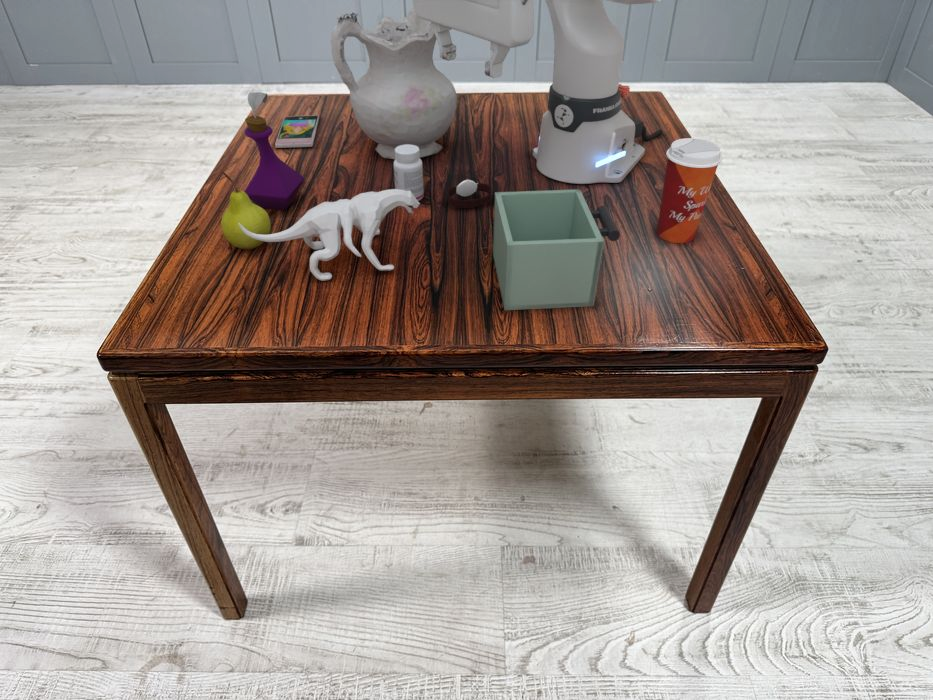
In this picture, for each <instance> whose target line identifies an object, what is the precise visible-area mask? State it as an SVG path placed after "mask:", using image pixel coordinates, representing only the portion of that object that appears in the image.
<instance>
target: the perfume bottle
mask: <svg viewBox="0 0 933 700" xmlns="http://www.w3.org/2000/svg"><path fill="white" fill-rule="evenodd" d="M267 101H268V93H266V92H262V91H255V92H249V93H248V94H247V103H248V106H249V107H250V108H251V110H252V111H253V115H249V116H248V117H246V118H245V119H244V120H245V123H246V125H247V126H248V127H246V128H245V130H244V135H245V136H246V137H247V138H249V139H251V140H252V141H254V142H255V144H256V146H257V149H258V152H259V162H258V163H259V164H258V166H257V168H256V171H255V172H254V175H253V176H252V178H251V180H250V182H249V183H248V184H247V186H246V188H245V189H244V190H243V191H244V192H245V193H246V194H247V195H248V197H249V199H250V200H251V202H252V203H254V204H255V205H257V206H259V207H261V208H263V209H268V210H278V211H286V210H287V209H288V208H289V207H290V205H291V204H292V203H293V202H294V201H295V199H296V198H297V195H298V193H299V191H300V189H301V187H302V185H303V183H304V181H305V177H304V176H303V175H302V174H301V173H299V172H298V171H297V170H295V169H294V168H293V167H290V166H289V165H288V164H287V163H285V162H284V161H283V160H282V159H280V158H279V156H278V155H277V154H276V152H275V151H274V149H273V147H272V146H271V143H270V140H269V138H270V136H271V135H272V134H273V132H274V131H273V129H272V128H271V126H270V125H268V124H267V120H266V119H265V118H264V117H262V116H259V115H257V114H256V111H257V110H258V108H259V107H260V106H261V105H262V103H264V104H266V103H267Z"/></svg>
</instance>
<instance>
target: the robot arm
mask: <svg viewBox="0 0 933 700" xmlns="http://www.w3.org/2000/svg"><path fill="white" fill-rule="evenodd" d="M544 1H545V4H546V6H547V9H548V12H549V16H550V20H551V25H552V31H553V41H554V45H553V46H554V47H553V49H554V50H553V70H552V71H553V72H552V74H553V75H552V83H551V84H550V86H549V90H548V94H547V109H548V110H547V111H545V112H544V113H543V115H542V118H541V125H540V132H539V137H538V143H537V147H534V148H533V149H532V154H531V155H532V157H533V158H534V159H535V160H536V162H535V164H536V168H537V170H538V171H539V173H541V174H542V175H544V176H545V177H547V178H549V179H552V180H554V181H558V182H563V183H568V184H577V185H589V184H596V183H610V184H618V183H621V182H623V180H624V179H626V177H627V176H628V175H629V173H630V172H631V171H632V170H633V169H634V168H635V166H636V165H637V164H638V163H639V162H640V161H641V159H642V158H643V157H644V155H645V154H646V148H644V147H643V146H642V145H641V144H639V143H637V142H635V140H636V139H639V138H642V139H643V140H644V141H647V142H648V141H651V140H654V139H655V138H657V137H658V136H660V135H662V134H663V132H664V130H662V129H661V128H660V129H657V130H656V131H655V132H653V133H652V134H649V135H647V128H646V126H645V125H644V123H645V122H644V121H643V120H640V119H637V118H634V117H632V116H629V115H627V114H626V113H625V112H624V110H623V109H622V98H623V99H627V98H628V96H629V94H630V91H631V90H630V89H631V88H630V86H629V85H623V84H621V83H620V79H621V72H622V64H623V57H624V53H625V52H624V51H625V44H624V43H625V42H624V38H623V35H622V33H621V32H620V30H619V29H618V28H617V27H616V26H615V25H614V24H613V23H612V21H611V20H610V18H609V17H608V15H607V12H606V8H605V6H604V0H544ZM606 1H607V2H612V3H618V4H623V5H646V4H656V3H657V4H658V3H659V2H660V1H662V0H606ZM412 6H413V8H414V9H415V12H416V14H417V16H418V17H419V18H421V19H424V20H427V21H430V22H433V31H434V33H435V36H436V38H437V39H436V42H437V43H438V46H439V58H440V59H442V60H445V61H447V62H449V61H454V60H455V59H456V58H457V53H456V52H457V45H456V44H454V43H453V40H452V36H451V32H450V31H452V30H455V31H458V32H461V33H464V34H467V35H470V36H473V37H476V38H479V39H481V40H484V41H488V42H489V43H490V51H492V54H491V56H490V60H487V61H484V68H485V69H484V75H485V76H487V77H489V78H492V79H497V78H500V77H501V76H502V74H503V63H504V61H505V59H506V57H507V55H508V54H509V52H510V50H511V49H513V48H517V47H521V46H525V45H527V44H529V43H530V42H531V40H532V38H533V36H534V29H535V28H534V27H535V26H534V25H535V24H534V23H535V18H534V17H535V15H534V0H412Z"/></svg>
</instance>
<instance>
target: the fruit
mask: <svg viewBox="0 0 933 700" xmlns="http://www.w3.org/2000/svg"><path fill="white" fill-rule="evenodd" d="M220 174H222V175H223V176H224V177H225V178H226V179H227V180H229V181H230V182H231V184H233V186H234V190H233V191H232V192H231V193H230V196H229V204H228V206H227V208H226V209H225V211H224V213H223V214H222V217H221V220H220V221H221V222H220V223H221V225H220V228H221V232H222V234H223V236H224V238H225V239H226V241H227V242H229V244H231V246H233V247H235V248H238V249H241V250H245V251H250V250H254V249H256V248H258V247H260V246H261V245H262V244H264V243H265V241H261V240H257V239H253V238H251V237H249V236H247V235H246V234H245V233H244V232H243V231H242V229H241V228H240V226H239V224H238V223H240V224H241V225H242V226H243V227H244V228H245V229H247V230H248V231H250V232H252V233H255V234H262V235H268V234H271V228H272V227H271V226H272V225H271V219H270V216H269V214H268V213H267V211H266V210H265V208H261V207H260V206H259V205H257V204H256V203H255V202H253V201H252V200H251V199H249V197H248V195H247V194H246V193H245V192H244V191H245V190H242V189H238V187H237V186H236V183H235V182H234V181H233V180H232V178H231V177H230V176H229V175H228V174H227V173H225V172H224V171H223V170H221V171H220Z"/></svg>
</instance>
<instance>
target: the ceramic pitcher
mask: <svg viewBox="0 0 933 700" xmlns="http://www.w3.org/2000/svg"><path fill="white" fill-rule="evenodd" d="M358 16H359V14H358V13H355V12H351V13H345V14H341V15H340V16H339V17H336V19H337V23H336V24H335V26H334V28H333V30H332V32H331V39H330V47H331V55H332V59H333V63H334V67H335V69H336V70H337V72H338V74H339V76H340V79H341V80H342V83H343V84H344V85H345V86H346V87H347V89H348V91H349V101H350V107H351V109H352V110H353V115H354V118H355V121H356V122H357V125H358V126H359V128H360V129H361V130H362V132H363V133H364V134H365V135H366V136H367V137H368V138H369V139H370V140H371V141H374V142H375V143H377V146H376V147H375V148H374V150H375V151H376V152H377V153H378V154H379V156H380V157H382V158H384V159H391V160H395V159H396V158H395V148H396V147H398V146H400V145H405V144H410V145H415V146H417V147H418V148H419V151H420V159H421V158H424V157H428V156H432V155H435V154H438V153H439V152H440V151H441V150H442V149H443V146H442V144H439V143H437V142H436V141H438V140H440V139H441V138H442V137H443V136H444V135H445V134H446V133H447V131H448V129H449V128H450V126H451V125H452V123H453V121H454V118H455V114H456V109H457V99H458V98H457V91H456V88H455V86H454V83H453V82H452V81H451V80H450V79H449V78H448V77H447V76H446V75H445V74H444V73H443V72H441V71H440V70H439V69H437V68H436V66H435V63H434V59H433V55H434V50H435V47H436V46H435V45H436V42H437V38H436V36H435V33H434V31H433V22H430V21H427V20H424V19H421V18H419V17H418V16H417V14H416V12H415V9H414V7H413V8H412V9H411V10H409V12H408V13H407V14H406V16H404V18H402V19H394V18H391V17H389V16H384V17H383V18H381V19H380V21H379V22H378V23H377V24H376V25H375V28H374V29H373V31H371V30H369V29H363V27H362V26H361V24H360V23H359V21H358ZM348 37H349V38H350V37H354V38H356V39H357V40H358V41H359V42H360V43H361V44H364V45H365V48H366V51H367V55H368V59H369V60H368V61H369V65H368V68H367V71H366V73H364V74H363V75H362V76H361V77H360V78H359V79H358V80H357V81H356V80H355V77H354V74H353V71H352V70H351V68H350V66H349V65H348V62H347V60H346V58H345V42H346V39H347V38H348Z"/></svg>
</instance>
